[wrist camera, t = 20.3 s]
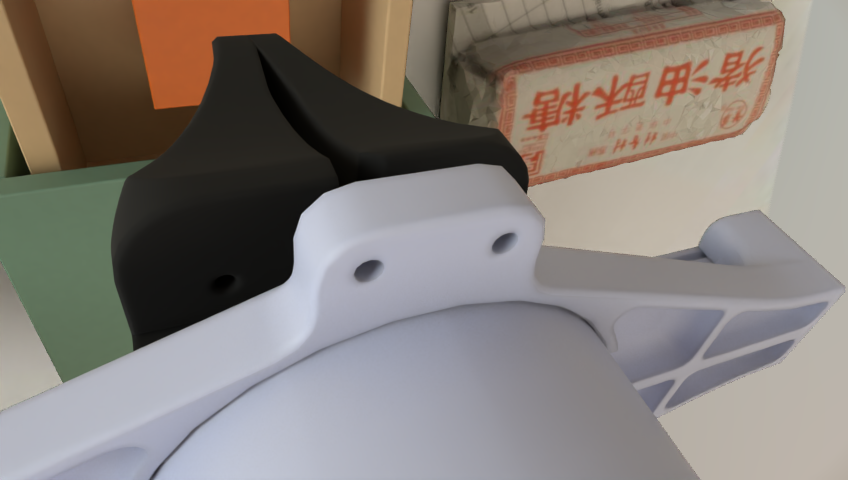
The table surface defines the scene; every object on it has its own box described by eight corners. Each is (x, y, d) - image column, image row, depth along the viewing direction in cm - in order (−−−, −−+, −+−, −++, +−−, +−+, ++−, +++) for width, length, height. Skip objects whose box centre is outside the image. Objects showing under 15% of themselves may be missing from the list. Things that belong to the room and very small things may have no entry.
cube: (142, 45, 20) (154, 110, 18) (115, -87, 17) (124, -32, 15) (265, 36, 22) (292, 96, 19) (258, -86, 19) (288, -36, 16)
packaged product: (467, 241, 29) (494, 49, 22) (429, 179, 32) (441, -7, 25) (756, 164, 35) (852, -11, 27) (700, 118, 38) (773, -51, 31)
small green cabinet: (-11, 56, 21) (-33, 200, 16) (374, 31, 25) (448, 135, 20) (92, 314, 30) (98, 453, 25) (359, 260, 35) (407, 368, 30)
